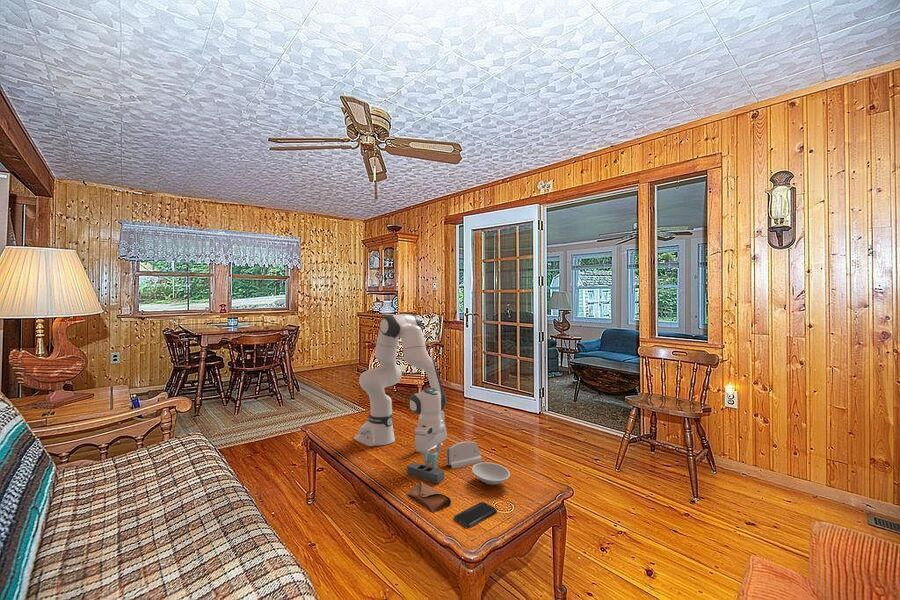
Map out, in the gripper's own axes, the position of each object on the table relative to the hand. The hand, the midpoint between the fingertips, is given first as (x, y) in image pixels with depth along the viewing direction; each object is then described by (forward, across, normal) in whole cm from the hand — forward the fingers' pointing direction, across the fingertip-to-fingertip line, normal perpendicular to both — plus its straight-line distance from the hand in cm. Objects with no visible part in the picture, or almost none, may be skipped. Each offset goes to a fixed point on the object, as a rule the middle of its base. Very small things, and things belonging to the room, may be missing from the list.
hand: (431, 455), depth 179 cm
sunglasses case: (+6, +25, +15) cm, 29 cm away
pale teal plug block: (+5, 0, 0) cm, 5 cm away
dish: (+5, 0, +30) cm, 30 cm away
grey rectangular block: (+5, +10, +4) cm, 12 cm away
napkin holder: (+5, -11, +10) cm, 16 cm away
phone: (+6, +24, +36) cm, 43 cm away
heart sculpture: (+5, -19, -13) cm, 24 cm away
